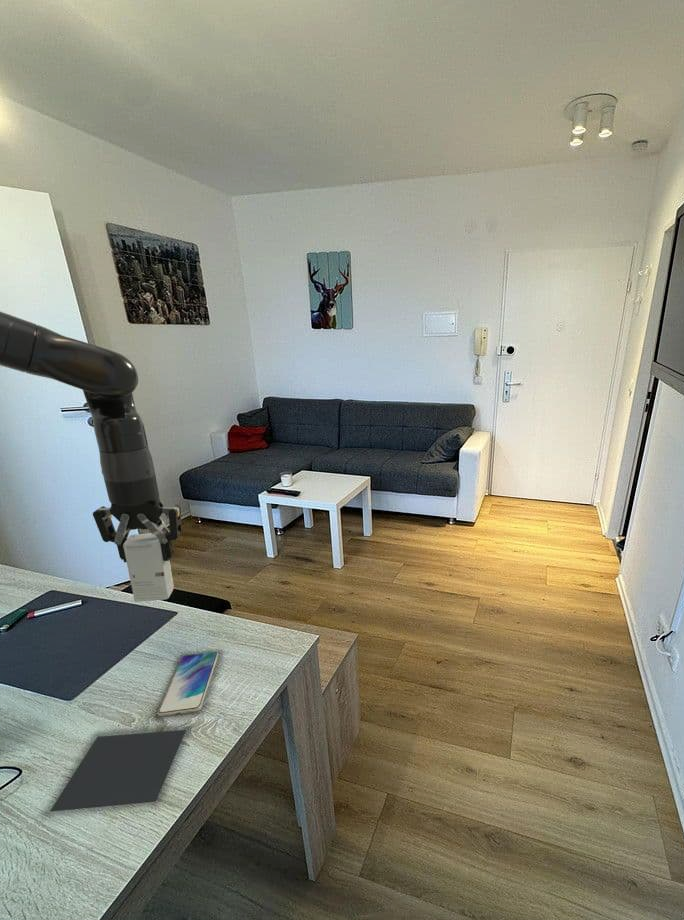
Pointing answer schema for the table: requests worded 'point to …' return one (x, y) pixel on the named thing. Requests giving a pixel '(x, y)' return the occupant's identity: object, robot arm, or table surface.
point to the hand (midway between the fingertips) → (148, 559)
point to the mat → (121, 770)
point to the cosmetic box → (148, 568)
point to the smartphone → (189, 684)
